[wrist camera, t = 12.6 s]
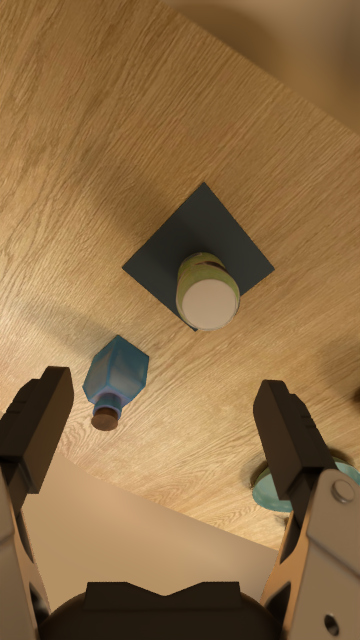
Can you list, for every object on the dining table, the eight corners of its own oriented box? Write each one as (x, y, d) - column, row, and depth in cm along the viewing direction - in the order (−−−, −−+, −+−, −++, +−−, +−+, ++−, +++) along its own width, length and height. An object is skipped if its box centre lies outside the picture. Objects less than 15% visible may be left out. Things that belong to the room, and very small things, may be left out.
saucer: (232, 467, 60) (235, 482, 57) (340, 432, 53) (349, 448, 51) (269, 507, 71) (273, 522, 68) (361, 483, 65) (370, 497, 62)
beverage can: (187, 299, 36) (192, 356, 26) (166, 250, 32) (162, 295, 22) (231, 284, 35) (254, 337, 25) (214, 231, 31) (234, 268, 21)
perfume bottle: (124, 377, 44) (109, 444, 34) (93, 357, 41) (67, 423, 31) (149, 356, 41) (141, 422, 31) (117, 334, 39) (98, 397, 29)
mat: (121, 267, 33) (121, 267, 33) (204, 181, 28) (204, 181, 28) (195, 331, 39) (195, 331, 39) (274, 268, 34) (275, 269, 34)
